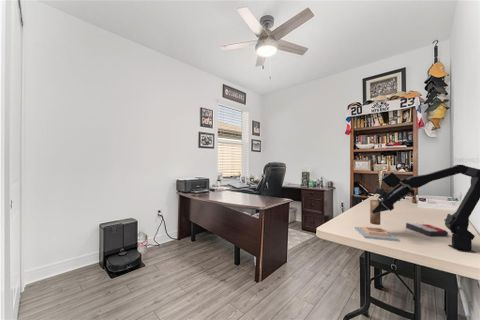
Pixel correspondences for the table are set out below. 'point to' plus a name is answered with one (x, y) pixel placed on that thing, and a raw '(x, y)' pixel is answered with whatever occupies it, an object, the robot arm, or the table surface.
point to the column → (374, 216)
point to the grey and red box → (426, 229)
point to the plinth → (375, 233)
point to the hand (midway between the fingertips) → (372, 211)
